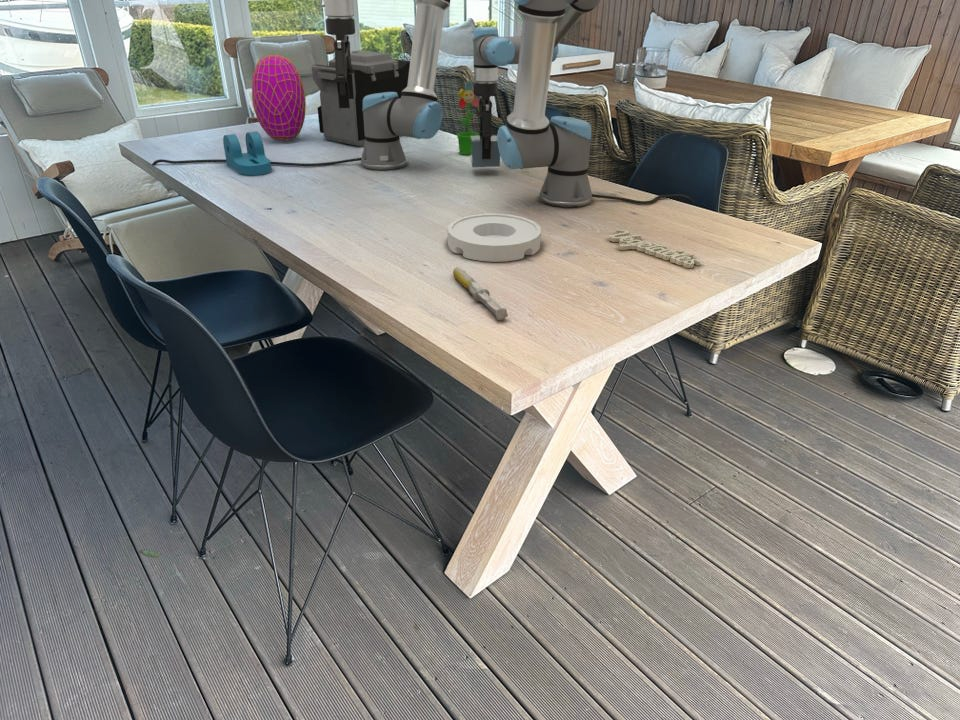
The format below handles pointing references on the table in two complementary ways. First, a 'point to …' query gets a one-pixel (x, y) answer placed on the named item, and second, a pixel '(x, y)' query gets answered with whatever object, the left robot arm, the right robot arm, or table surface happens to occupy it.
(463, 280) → the syringe
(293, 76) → the decorative egg
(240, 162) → the camera mount
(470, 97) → the potted flower
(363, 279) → the table surface
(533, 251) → the ashtray
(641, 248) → the decorative sign
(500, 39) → the right robot arm
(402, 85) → the electronic device
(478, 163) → the block
